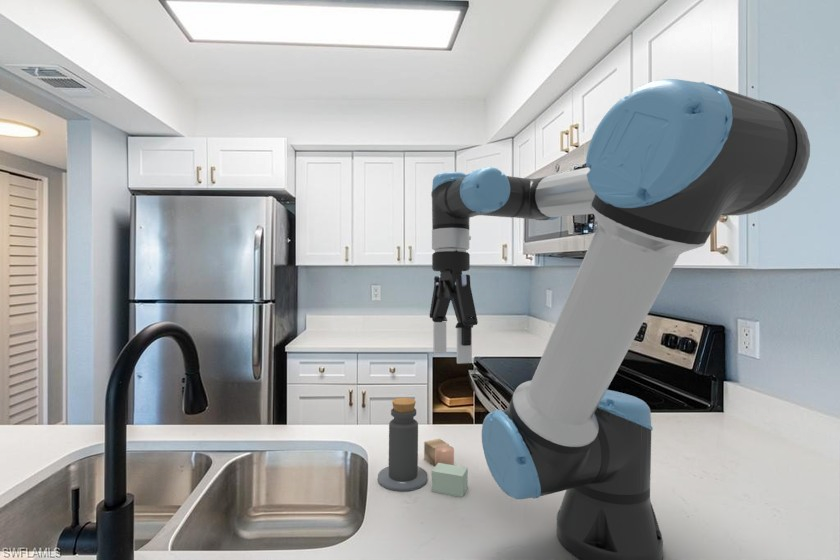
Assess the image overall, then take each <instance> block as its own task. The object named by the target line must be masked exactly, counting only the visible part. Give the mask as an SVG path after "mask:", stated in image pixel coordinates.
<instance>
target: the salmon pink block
mask: <svg viewBox="0 0 840 560" xmlns="http://www.w3.org/2000/svg"><path fill="white" fill-rule="evenodd" d="M438 463H443V464H449V465H455V448H454V447H453V446H451V445H449V446H448V445H439V446H437V447H435V466H436V465H437V464H438ZM435 466H434V467H435Z"/></svg>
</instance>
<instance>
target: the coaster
mask: <svg viewBox="0 0 840 560" xmlns="http://www.w3.org/2000/svg"><path fill="white" fill-rule="evenodd" d="M428 478H429V475H428V472H427V471H426V470H425V469H424V468H422V467H420V466H418V473H417V477H416V478H415V479H413V480H410V481H404V482H401V481H395V480H393V479H391V478H390V477H389V466H385V467H384V468H383V469H381V470H380V471H379V472H378V474H377V482H378V484H379V485H380V487H383V488H385V489H386V490H389V491H394V492H410V491H415V490H419V489H421V488H422V487H423V488H424V486H425V485H426V484H427V483H428V480H429V479H428Z"/></svg>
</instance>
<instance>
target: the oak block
mask: <svg viewBox="0 0 840 560" xmlns="http://www.w3.org/2000/svg"><path fill="white" fill-rule="evenodd" d="M423 445H424V446H423V448H424V449H423V455H424V456H423V459H424V460H425V461H426V462H427V463H429V464H430V465H431V466H432V467H435V447H437V446H439V445H448V446H450V444H449V443H448V442H446V441H444V440H443V439H441V438H436V439H431V440H425V441H424V442H423Z"/></svg>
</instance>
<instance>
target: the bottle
mask: <svg viewBox="0 0 840 560" xmlns="http://www.w3.org/2000/svg"><path fill="white" fill-rule="evenodd" d="M391 403H392V408H391V410H390V415H391V416H392V417H393V419H391V420H390V422H389V423H388V424H389V425H388V430H389V431H388V467H389V477H390V478H391V479H393V480H395V481H401V482H404V481H410V480H413V479H415V478H416V477H417V473H418V467H419V465H418V464H419V462H418V461H419V455H418V454H419V423H418V421H417V420H416V419H415V417H416V416H417V408H415V406H416V403H417V402H416V400H415V399H414V398H410V397H409V398H408V397H399V398H394V399H393V400H392V401H391Z"/></svg>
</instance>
